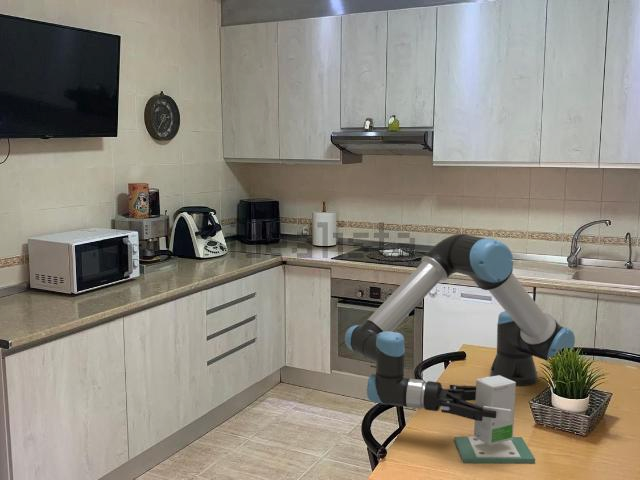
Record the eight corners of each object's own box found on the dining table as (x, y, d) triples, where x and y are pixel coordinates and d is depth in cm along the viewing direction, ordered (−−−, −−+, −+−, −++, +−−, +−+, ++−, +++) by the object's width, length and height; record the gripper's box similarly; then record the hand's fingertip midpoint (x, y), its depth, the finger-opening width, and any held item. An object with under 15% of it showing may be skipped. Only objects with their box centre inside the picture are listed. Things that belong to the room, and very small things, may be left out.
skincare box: (489, 446, 164) (492, 387, 162) (471, 435, 170) (474, 378, 167) (514, 439, 168) (517, 381, 165) (496, 429, 174) (499, 373, 171)
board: (462, 462, 164) (463, 457, 164) (454, 440, 176) (454, 435, 175) (534, 463, 163) (535, 457, 163) (521, 441, 175) (521, 435, 175)
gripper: (432, 393, 185) (514, 404, 177) (415, 425, 164) (507, 440, 156) (433, 367, 183) (515, 377, 176) (416, 397, 163) (509, 410, 155)
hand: (512, 407), depth 166 cm, fingers closed on skincare box, 10 cm apart
